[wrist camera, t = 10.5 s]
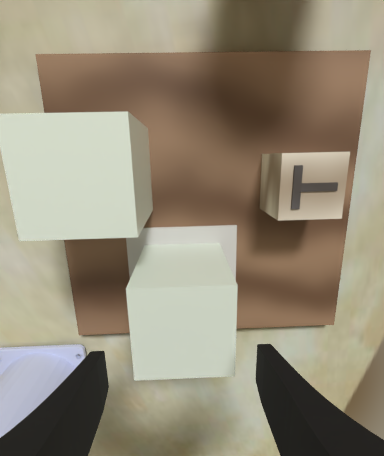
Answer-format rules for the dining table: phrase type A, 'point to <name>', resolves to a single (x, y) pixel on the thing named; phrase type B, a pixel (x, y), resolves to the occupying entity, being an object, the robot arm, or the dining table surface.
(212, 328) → the cover
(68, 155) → the cover
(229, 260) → the pad
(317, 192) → the letter cube
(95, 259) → the board
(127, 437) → the dining table surface
